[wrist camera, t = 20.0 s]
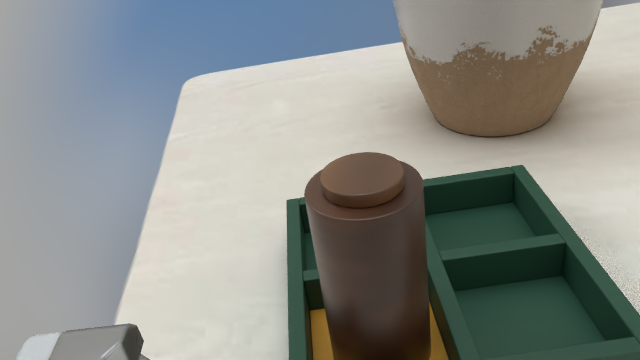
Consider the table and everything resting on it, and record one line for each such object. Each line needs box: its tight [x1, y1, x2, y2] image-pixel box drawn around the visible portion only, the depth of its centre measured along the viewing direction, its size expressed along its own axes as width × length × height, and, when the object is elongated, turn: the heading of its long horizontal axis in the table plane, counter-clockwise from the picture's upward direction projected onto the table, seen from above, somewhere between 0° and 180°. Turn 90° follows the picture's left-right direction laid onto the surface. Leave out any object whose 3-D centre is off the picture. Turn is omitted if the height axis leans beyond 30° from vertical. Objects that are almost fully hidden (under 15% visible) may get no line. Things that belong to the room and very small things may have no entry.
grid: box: [287, 165, 640, 360], centre depth 29 cm, size 15×15×3 cm
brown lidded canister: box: [304, 152, 431, 360], centre depth 23 cm, size 5×5×10 cm
